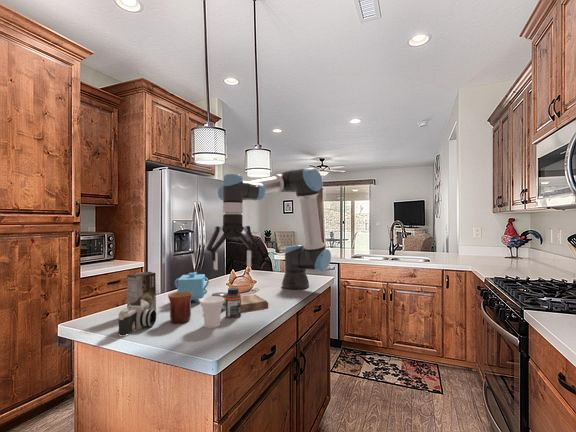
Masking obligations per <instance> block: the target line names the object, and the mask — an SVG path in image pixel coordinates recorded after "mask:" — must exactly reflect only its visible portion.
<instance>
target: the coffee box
mask: <svg viewBox="0 0 576 432" xmlns="http://www.w3.org/2000/svg"><path fill="white" fill-rule="evenodd" d="M126 279H127V281H126V282H127V283H126V285H127V286H126V287H127V288H126V289H127V292H126V294H127V304H129V303H131V302H132V303H133V302H135V301H138V300H141V299H142V300H145V301H146V302H148V304H149V307H148V309H149V310H150V309H154V310H155V311H157V293H156V291H157V289H156V288H157V287H156V286H157V285H156V283H157V282H156V272H152V271H148V270H147V271H141V272H136V273H131V274H130V273H129V274H127V275H126Z"/></svg>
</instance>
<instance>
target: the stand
mask: <svg viewBox="0 0 576 432" xmlns="http://www.w3.org/2000/svg"><path fill="white" fill-rule="evenodd" d="M262 308H263V309H267V308H268V309H269V302H268V301H267V300H266V299H264V298H262V297H260V296H259V295H257V294H249V295H248V294H247V295H241V313H242V312H243V313H244V312H248V311H256V309H257V310H261V309H262Z"/></svg>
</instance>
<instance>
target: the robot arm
mask: <svg viewBox="0 0 576 432" xmlns="http://www.w3.org/2000/svg"><path fill="white" fill-rule="evenodd" d="M322 187H323V177H322V175H321V174H320V172H319V171H318V170H317V169H316V168H313V167H311V168H310V167H308V168H307V167H306V168H305V167H304V168H299V169H291V170H287V171H284V172H280V173H277V174H272V176H270V177H264V178H257V179H252V180H244V179H243V175H242V174H238V173H227V174H225V175H224V176H223V181H222V185H220V186H219V187H218V190H217V194H218V198H219V199H220V200H221V201H222V202H223V204H222V212H223V213H224V214H223V215H222V226H218V225H217V226H214V232H213V233H212V236H211V237H210V240H209V242H208V244H207V246H206V248H205V250H206V251H208V252H210V259H211V260H210V261H212V262H213V270H215V271H219V270H218V261H219V260H218V257H219V256H218V255H219V254H218V252H217V251H218V249H219V248H220V247H221V246H222V244H223V243H224V242H225V241H226V240H227V239H228V238H229V239H231V238H232V239H233V238H238V239H240V240H241V241H242V243H243V244H244V245H245V246H246V248H247V249H248V250H246V267H248V268H252V259H254V251H255V249H256V250H257V249H258V248H259V247H258V244H257V242H256V240H255V238H254V236H253V233H252V231H251V226H250V225H245V226H243V225H244V224H243V221H244V220H243V217H244V216H243V212H244V211H243V209H244V208H243V207H244V205H243V201H261V200H262V199H264V197H265V195H266V194H269V193H276V194H278V193H279V194H280V193H296V194H295V195H296V197H297V198H298V199H299V202H300V210H301V211H300V212H301V216H302V218H301V219H302V225H303V234H304V240H305V244H298V245H290V246H288V245H287V246H286V247H285V250H284V274H283V275H284V276H283V279H282V281H281V287H282V288H284V289H288V290H304V289H307V288H309V287H310V282H309V278H308V275H307V271H306V270H311V271H316V272H324V271H326V270H327V269H328V268H329V266H330V263H331V260H332V253H331V251H330V250H329V249H327V247H326V244H325V243H324V242H323V240H322V235H321V234H322V233H321V222H320V217H319V216H320V215H319V207H318V199H317V197H318V195H319V194H320V192H319V191H320V190H322ZM243 231H244V232H245V234H246V236H247V238H248V240H247V238H246V237H245V236H244V234H243V233H242V232H243ZM221 232H223V234H222V235H221V236H220V238H219V240H217V238H218V236H219V234H220V233H221ZM216 241H217V242H216Z"/></svg>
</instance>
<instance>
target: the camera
mask: <svg viewBox="0 0 576 432" xmlns="http://www.w3.org/2000/svg"><path fill="white" fill-rule="evenodd" d="M148 307H149V304H148V302H146V301H145V300H142V299H141V300H138V301H135V302H133V303H132V302H131V303H129V304H127V305H126V307H125V308H123V309H121V310H120V311H119V313H118V335H119V334H120V335H126V334H129V333H131V332H132V333H134V332H135V331H137V330H141V329H143V328H144V327H151V328H152V327H153V326H154V325H155V324H156V320H157V312H156V311H157V310H156V311H155V310H154V309H150V310H149V309H148ZM136 329H137V330H136ZM134 330H135V331H134ZM133 331H134V332H133ZM132 333H131V334H132Z"/></svg>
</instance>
